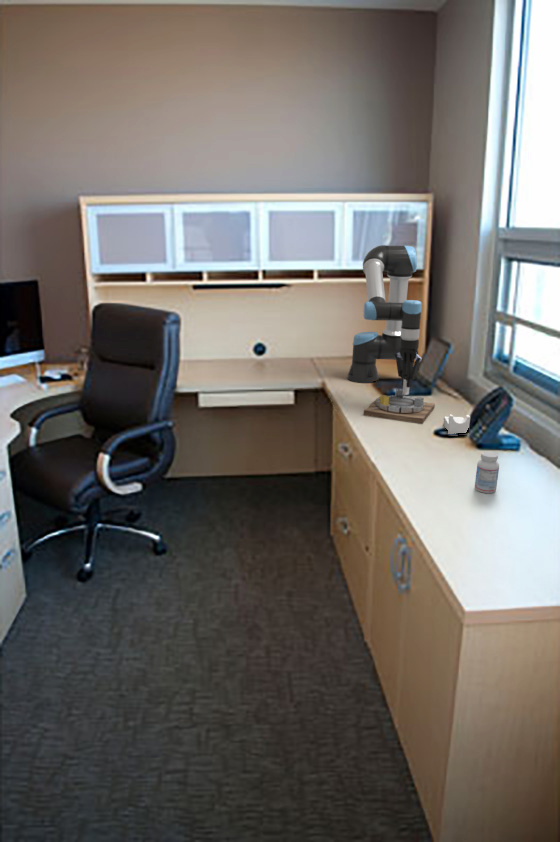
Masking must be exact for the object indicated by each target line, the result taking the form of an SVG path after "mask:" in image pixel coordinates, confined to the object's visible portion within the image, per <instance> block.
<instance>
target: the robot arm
mask: <svg viewBox="0 0 560 842" xmlns="http://www.w3.org/2000/svg"><path fill="white" fill-rule="evenodd" d="M417 258H418V257H417V251H416V248H415V247H414V246H411V245H385V244H383V245H378V246H375V247H373V248H372V249H371V250H369V251H368V252H367V254H366V255H365V256H364V259H363V261H362V271H363V273H364V274H365V281H366V283H365V284H366V296H367V301H366V302H364V305H363V318H364V320H368V321H369V320H370V321H386V323H385V328H384V329H383V330H382V333H381V335H379V334H378V332H377V331H365V332H364V331H363V332H362V331H361V332H358V333H357V334H355V335H354V336H353V342H352V359H351V366H350V368H349V371H348V373H347V380H348V381H351V382H355V383H363V384H365V383H367V384H369V383H374V382H373V380H377V379H378V380H379V372H378V369H377V360H393V361H394V360H395V362H396V369H397V375H398V376H397V377H399V378H401V379H402V380H401V386H402V389H403V396H407V395H410V388H411V387H412V380H415V379H417V377H418V372H419V370H420V366H421V363H422V361H423V360H424V358H423V356H420V355H419V351H418V350H419V343H420V340H419V339H420V332H421V330H420V329H421V318H422V316H421V315H422V311H423V309H422V305H423V303H422V301H420V300H416V299H408V298H407V297H408V289H409V287H408V286H409V280H410V279H411V278H412V277H413V273H415V272H417V266H418V259H417ZM384 272H387V273H386V276H387V277H388V278H389V287H388V288H389V289H388V290H389V291H388V298H387V301H386V292H385V284H384V283H385V282H384V276H383V273H384Z"/></svg>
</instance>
